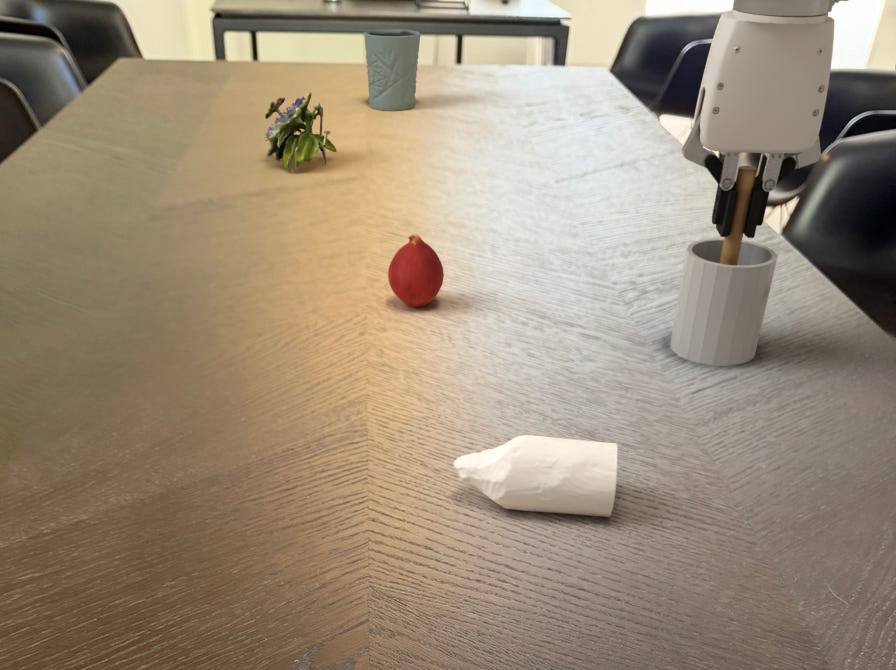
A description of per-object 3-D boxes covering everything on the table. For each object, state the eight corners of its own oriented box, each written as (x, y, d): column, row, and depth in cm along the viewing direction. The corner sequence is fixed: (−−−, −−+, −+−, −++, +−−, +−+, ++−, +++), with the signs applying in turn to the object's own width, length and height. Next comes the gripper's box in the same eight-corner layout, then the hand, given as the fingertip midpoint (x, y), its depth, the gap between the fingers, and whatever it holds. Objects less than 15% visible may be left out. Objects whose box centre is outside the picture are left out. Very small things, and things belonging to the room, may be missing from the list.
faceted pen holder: (744, 339, 103) (766, 239, 96) (761, 373, 96) (786, 268, 90) (664, 337, 103) (680, 237, 97) (675, 370, 97) (694, 265, 90)
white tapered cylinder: (456, 481, 80) (458, 416, 76) (607, 491, 79) (617, 426, 75) (448, 521, 75) (450, 454, 72) (609, 532, 74) (620, 465, 71)
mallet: (729, 325, 100) (764, 163, 90) (736, 339, 97) (772, 173, 87) (692, 324, 100) (723, 162, 90) (698, 338, 97) (731, 172, 87)
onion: (407, 296, 112) (407, 221, 107) (452, 306, 109) (454, 230, 104) (379, 312, 108) (377, 236, 103) (425, 323, 105) (426, 245, 100)
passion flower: (282, 196, 160) (275, 120, 160) (348, 185, 158) (341, 108, 158) (258, 169, 149) (250, 86, 149) (328, 156, 147) (321, 73, 147)
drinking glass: (358, 109, 186) (356, 34, 179) (376, 98, 194) (375, 26, 186) (409, 113, 184) (409, 37, 176) (426, 102, 191) (427, 29, 184)
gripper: (867, -7, 83) (810, 223, 95) (677, -11, 84) (643, 218, 96) (896, 5, 78) (831, 248, 89) (692, 1, 78) (653, 243, 90)
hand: (734, 231), depth 92 cm, fingers closed on mallet
